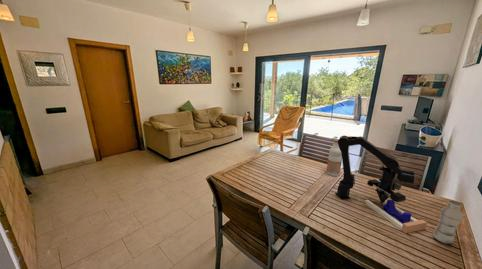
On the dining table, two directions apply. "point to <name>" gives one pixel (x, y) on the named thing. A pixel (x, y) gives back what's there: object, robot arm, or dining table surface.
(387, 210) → the cable clip
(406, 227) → the guide channel
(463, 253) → the dining table surface
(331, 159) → the fruit juice
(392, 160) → the robot arm
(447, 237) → the plastic bottle
